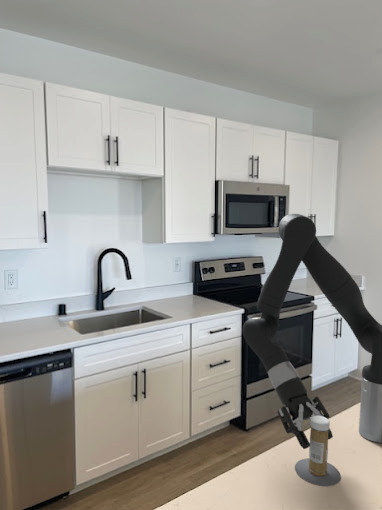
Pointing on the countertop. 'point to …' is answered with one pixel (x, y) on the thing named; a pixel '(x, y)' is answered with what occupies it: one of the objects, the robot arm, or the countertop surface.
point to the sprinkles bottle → (318, 445)
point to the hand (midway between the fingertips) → (318, 443)
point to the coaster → (326, 480)
